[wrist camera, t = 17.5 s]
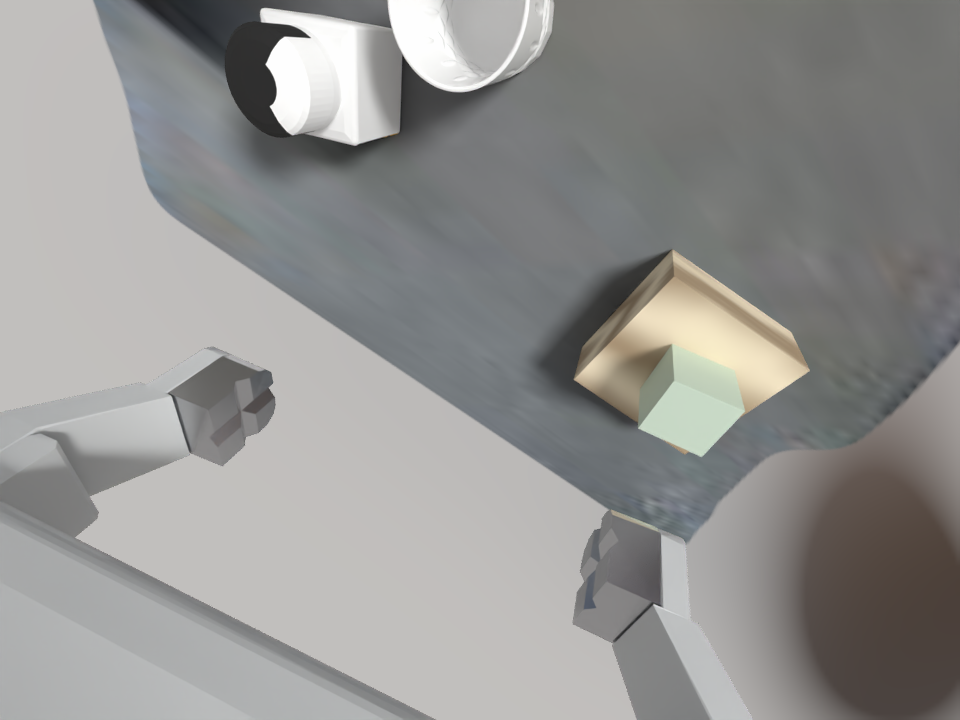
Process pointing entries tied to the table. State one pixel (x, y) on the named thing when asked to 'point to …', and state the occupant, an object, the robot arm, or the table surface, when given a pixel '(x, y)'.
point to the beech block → (687, 338)
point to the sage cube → (689, 400)
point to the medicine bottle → (316, 76)
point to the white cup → (470, 38)
